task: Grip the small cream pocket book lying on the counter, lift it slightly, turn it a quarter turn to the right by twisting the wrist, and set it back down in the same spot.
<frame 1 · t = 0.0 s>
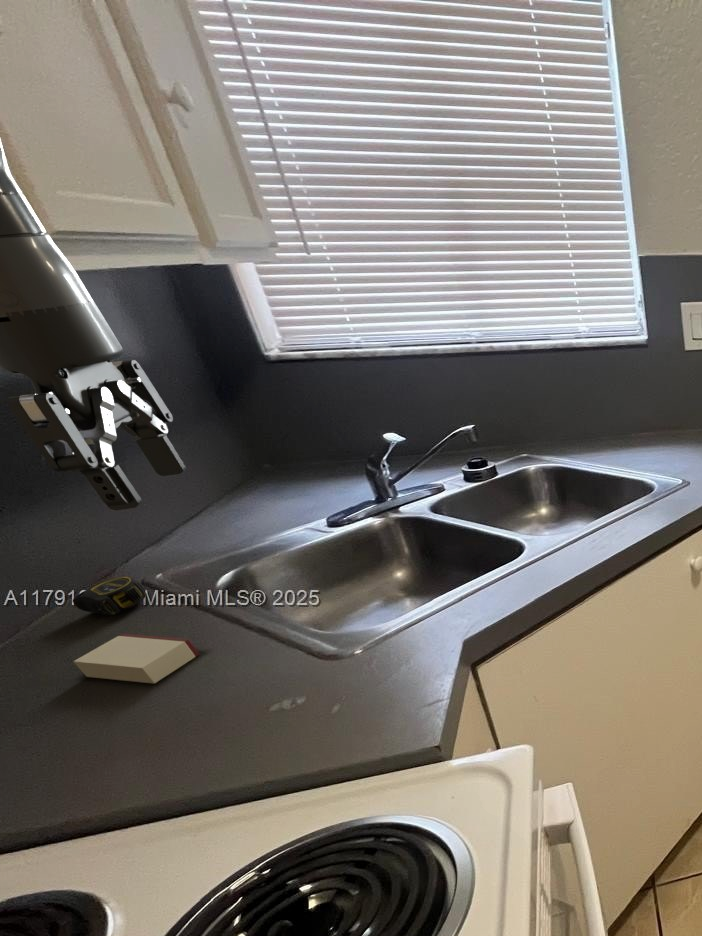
hand: (152, 489, 59), 28 cm above the worktop, tool pointing down, fingers open, 8 cm apart
tape measure: (119, 611, 95), on the worktop
pocket book: (111, 662, 84), on the worktop
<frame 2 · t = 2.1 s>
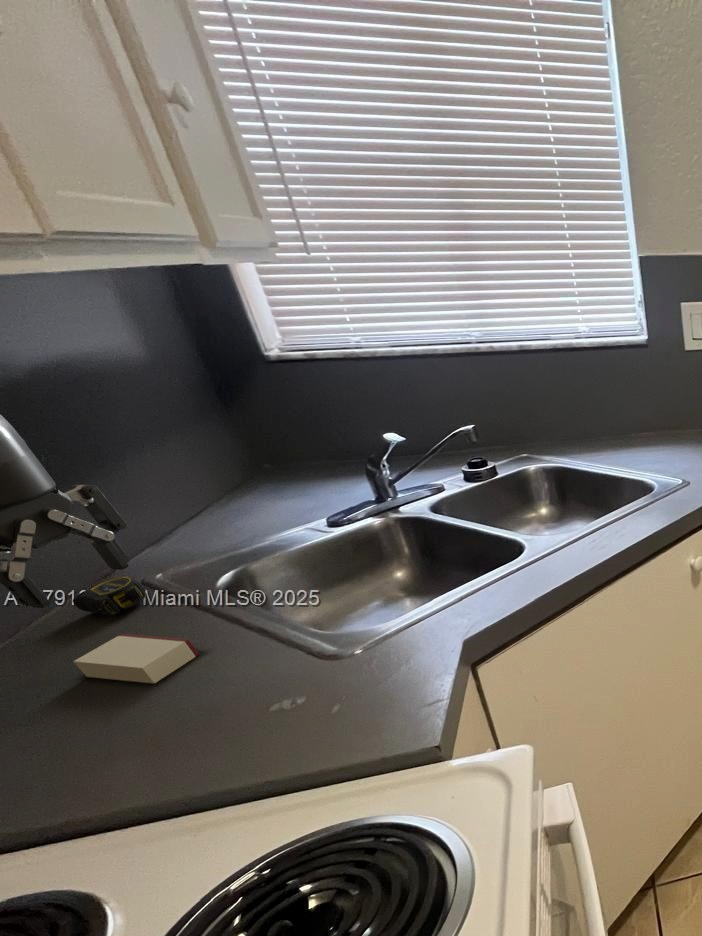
hand: (82, 586, 76), 13 cm above the worktop, tool pointing down, fingers open, 8 cm apart
nothing on the worktop moved.
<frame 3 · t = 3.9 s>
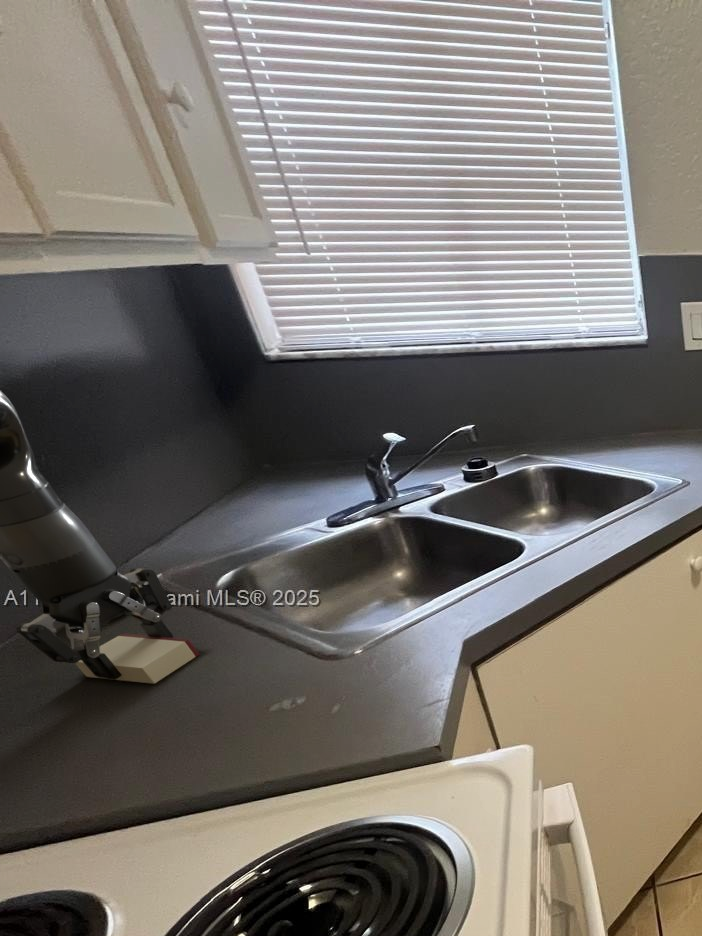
hand: (140, 660, 83), 1 cm above the worktop, tool pointing down, fingers closed on pocket book, 6 cm apart
pocket book: (111, 662, 84), on the worktop, touching gripper
everything else where it was.
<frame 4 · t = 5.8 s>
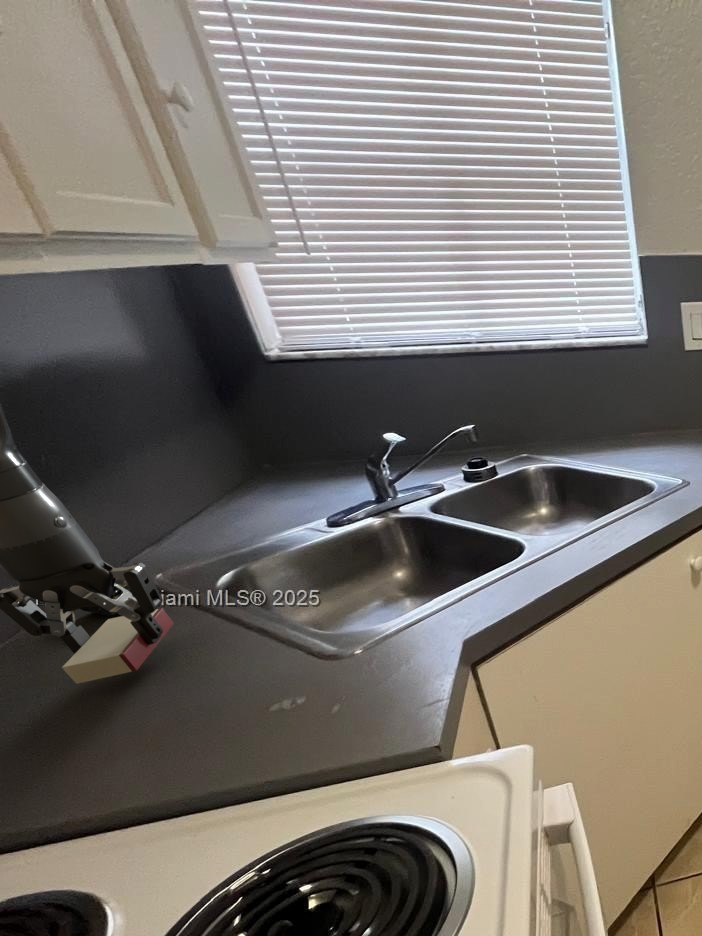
hand: (123, 647, 80), 4 cm above the worktop, tool pointing down, fingers closed on pocket book, 6 cm apart
pocket book: (147, 629, 85), point 3 cm above the worktop, touching gripper
everything else where it was.
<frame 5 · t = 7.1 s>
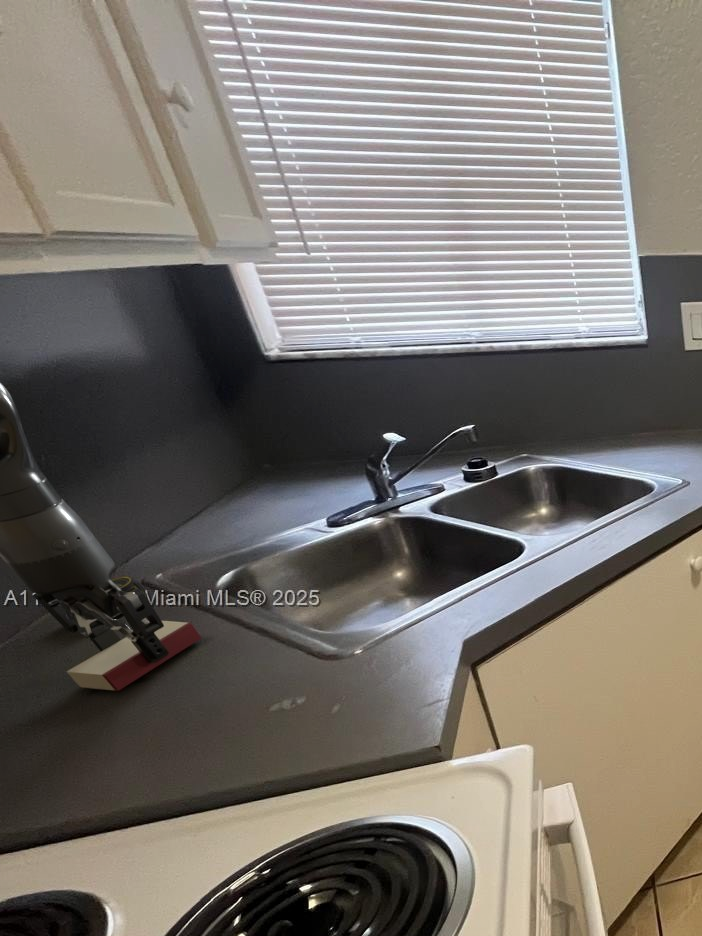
hand: (139, 656, 82), 1 cm above the worktop, tool pointing down, fingers closed on pocket book, 6 cm apart
pocket book: (184, 636, 87), on the worktop, touching gripper
everything else where it was.
when the fingers open (1 cm above the worktop, at t = 7.7 s): pocket book stays where it is, on the worktop.
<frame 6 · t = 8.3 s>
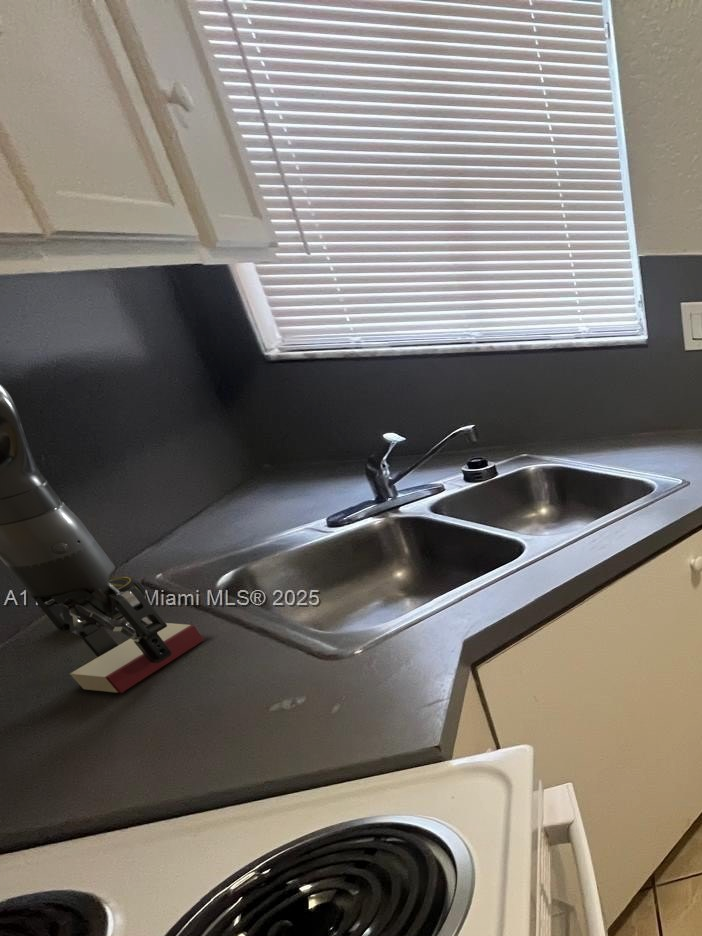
hand: (136, 656, 82), 2 cm above the worktop, tool pointing down, fingers open, 8 cm apart
pocket book: (186, 638, 88), on the worktop
everything else where it was.
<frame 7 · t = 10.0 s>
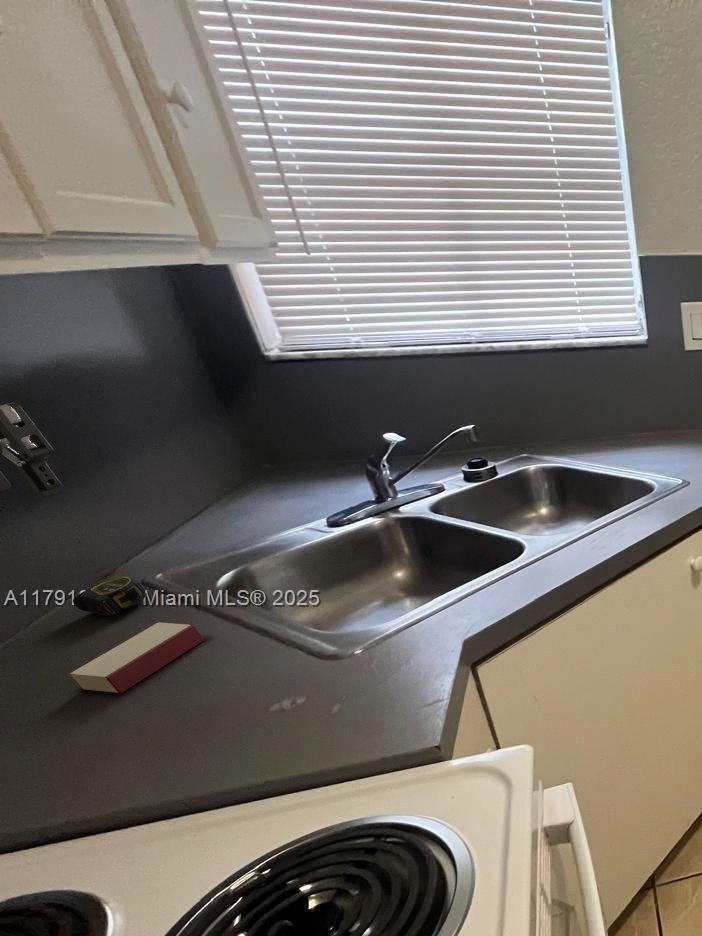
hand: (25, 491, 76), 23 cm above the worktop, tool pointing down, fingers open, 8 cm apart
nothing on the worktop moved.
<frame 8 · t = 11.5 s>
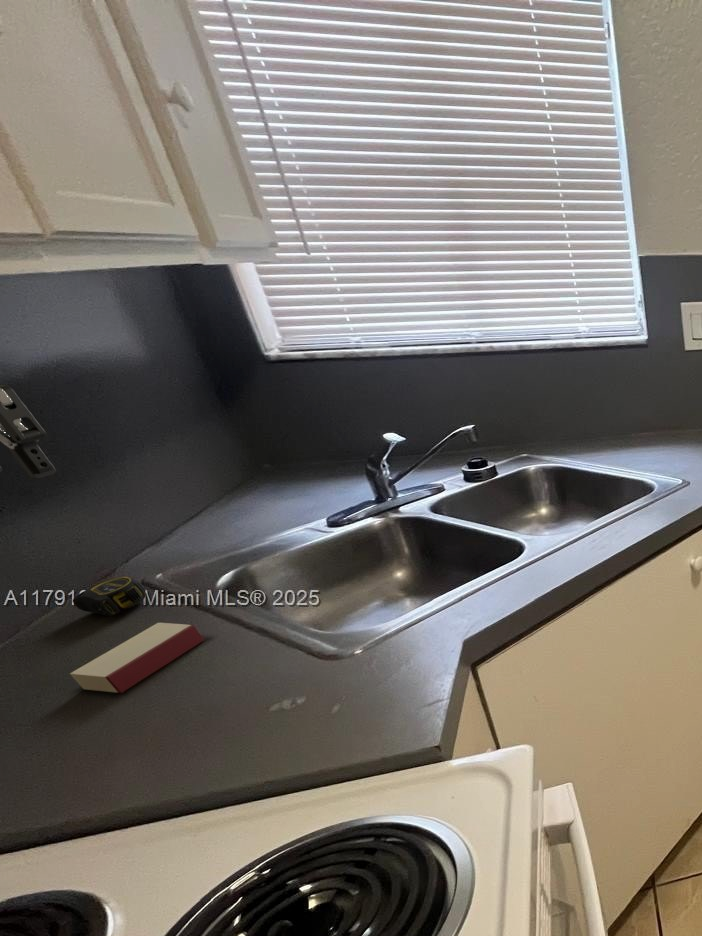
hand: (18, 475, 76), 24 cm above the worktop, tool pointing down, fingers open, 8 cm apart
nothing on the worktop moved.
at the end: pocket book 0.4 cm from the target spot, on the worktop; pocket book tilted 0°; the gripper is holding nothing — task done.
